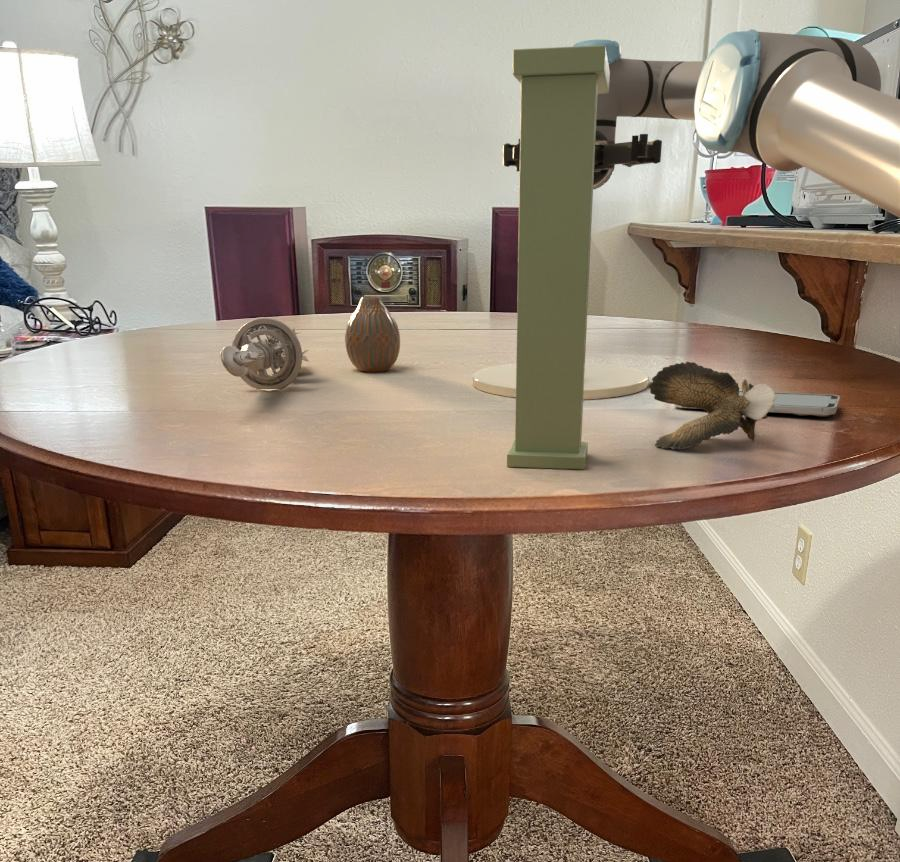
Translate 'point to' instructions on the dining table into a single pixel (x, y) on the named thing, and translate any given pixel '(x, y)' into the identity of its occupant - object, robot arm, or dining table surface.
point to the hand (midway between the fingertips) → (577, 149)
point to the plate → (596, 380)
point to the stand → (554, 249)
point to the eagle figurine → (709, 403)
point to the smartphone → (803, 404)
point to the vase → (372, 336)
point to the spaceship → (264, 354)
